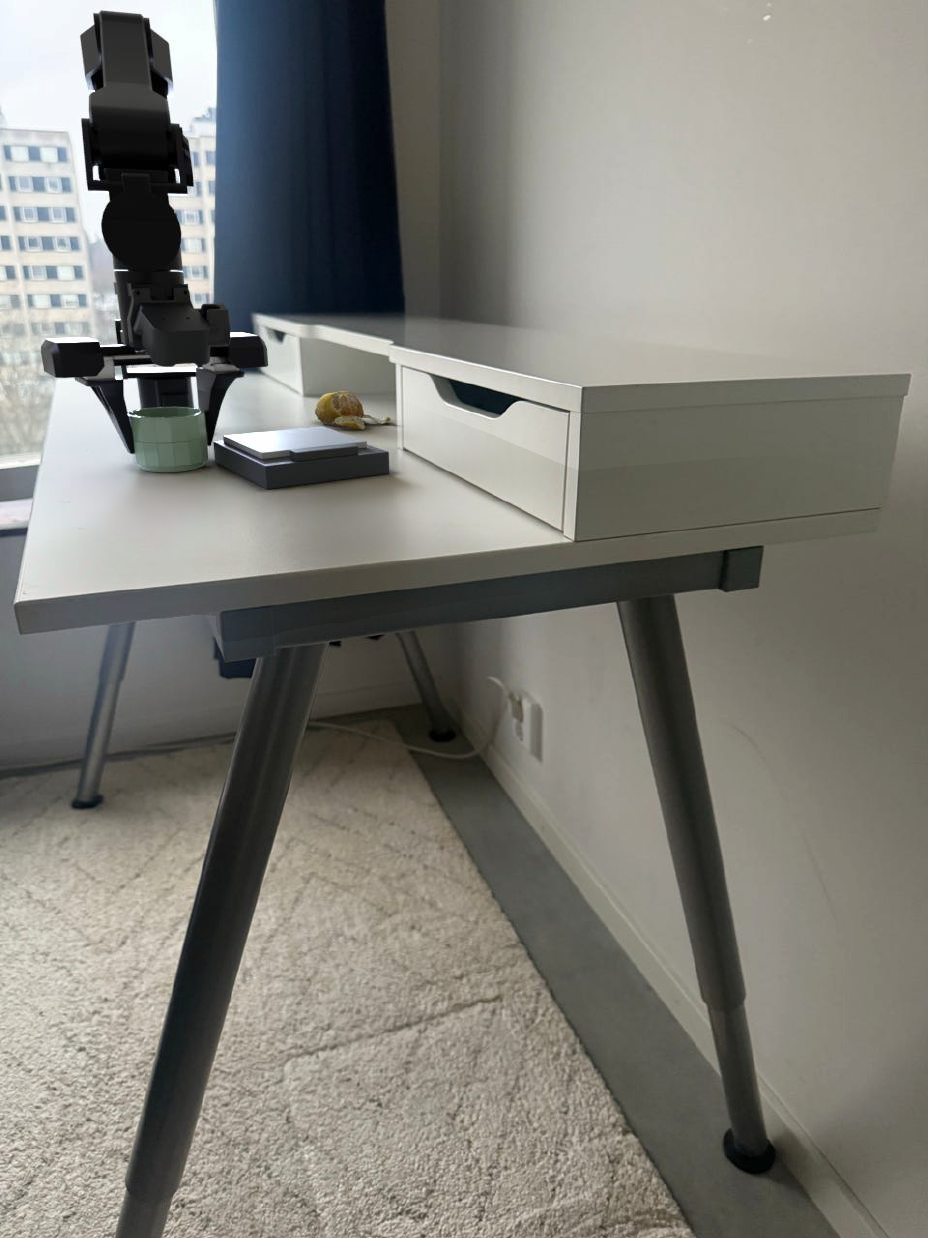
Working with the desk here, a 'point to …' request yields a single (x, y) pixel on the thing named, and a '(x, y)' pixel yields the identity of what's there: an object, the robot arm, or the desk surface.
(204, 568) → the desk surface
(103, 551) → the desk surface
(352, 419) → the fruit
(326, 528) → the desk surface
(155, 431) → the bowl
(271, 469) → the scale
